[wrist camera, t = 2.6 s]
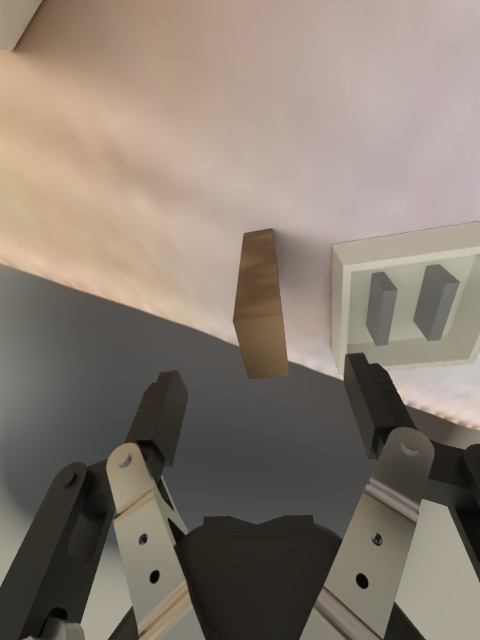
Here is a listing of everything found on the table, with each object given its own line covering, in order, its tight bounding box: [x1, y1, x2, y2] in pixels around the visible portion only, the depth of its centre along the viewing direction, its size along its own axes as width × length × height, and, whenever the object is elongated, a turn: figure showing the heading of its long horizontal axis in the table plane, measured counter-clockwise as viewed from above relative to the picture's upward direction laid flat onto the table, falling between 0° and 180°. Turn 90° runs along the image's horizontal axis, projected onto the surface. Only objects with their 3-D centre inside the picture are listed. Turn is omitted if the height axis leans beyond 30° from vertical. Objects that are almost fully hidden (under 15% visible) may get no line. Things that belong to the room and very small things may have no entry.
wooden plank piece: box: [233, 228, 289, 379], centre depth 19 cm, size 2×4×12 cm, turn 11°
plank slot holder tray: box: [331, 221, 480, 374], centre depth 24 cm, size 12×12×4 cm
